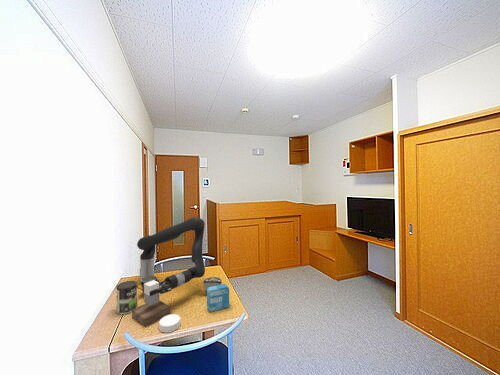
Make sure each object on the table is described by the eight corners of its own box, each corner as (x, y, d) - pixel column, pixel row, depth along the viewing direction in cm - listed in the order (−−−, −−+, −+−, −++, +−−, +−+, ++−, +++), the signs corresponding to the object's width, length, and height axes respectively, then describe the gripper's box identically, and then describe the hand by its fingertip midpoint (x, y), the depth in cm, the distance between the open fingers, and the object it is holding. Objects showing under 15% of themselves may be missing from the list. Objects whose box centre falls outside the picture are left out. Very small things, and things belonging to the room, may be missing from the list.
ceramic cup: (152, 289, 147) (152, 274, 147) (160, 293, 142) (160, 277, 142) (132, 297, 137) (132, 281, 137) (141, 301, 131) (141, 285, 131)
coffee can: (141, 306, 126) (141, 281, 126) (125, 316, 117) (125, 289, 117) (128, 303, 130) (128, 279, 130) (112, 312, 120) (111, 287, 120)
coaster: (184, 321, 112) (183, 314, 112) (174, 334, 102) (174, 326, 102) (166, 319, 113) (166, 312, 113) (154, 332, 103) (154, 324, 103)
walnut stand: (132, 317, 115) (132, 309, 115) (156, 305, 127) (156, 298, 127) (145, 327, 107) (145, 319, 107) (170, 313, 118) (170, 306, 118)
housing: (144, 302, 116) (143, 283, 116) (154, 297, 121) (153, 280, 121) (149, 305, 113) (149, 286, 113) (159, 300, 117) (159, 282, 117)
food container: (224, 292, 142) (224, 276, 142) (222, 296, 136) (221, 280, 136) (206, 291, 143) (205, 276, 143) (203, 296, 137) (202, 280, 137)
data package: (208, 312, 119) (208, 290, 119) (206, 308, 123) (206, 287, 123) (229, 307, 124) (229, 286, 124) (226, 303, 128) (226, 283, 128)
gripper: (167, 271, 132) (140, 281, 119) (182, 277, 124) (153, 288, 110) (168, 284, 132) (140, 295, 119) (182, 290, 124) (154, 303, 110)
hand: (147, 292), depth 115 cm, fingers closed on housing, 5 cm apart
